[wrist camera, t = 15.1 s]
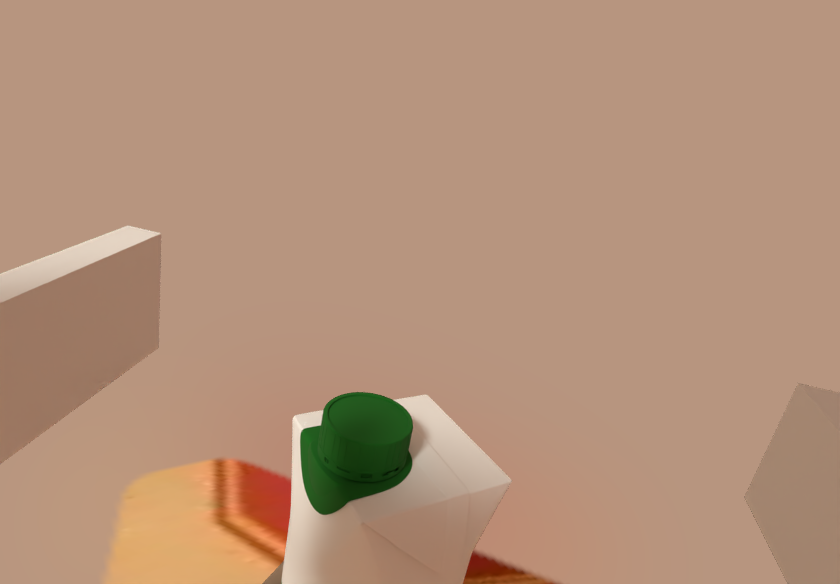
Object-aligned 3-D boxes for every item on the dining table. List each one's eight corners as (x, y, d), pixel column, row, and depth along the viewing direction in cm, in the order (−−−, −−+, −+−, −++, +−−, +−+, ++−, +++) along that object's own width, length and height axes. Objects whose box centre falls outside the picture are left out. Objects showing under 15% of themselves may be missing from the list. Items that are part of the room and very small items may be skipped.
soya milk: (246, 666, 36) (281, 372, 28) (380, 614, 41) (439, 352, 33) (301, 825, 29) (365, 494, 22) (453, 740, 34) (546, 447, 27)
